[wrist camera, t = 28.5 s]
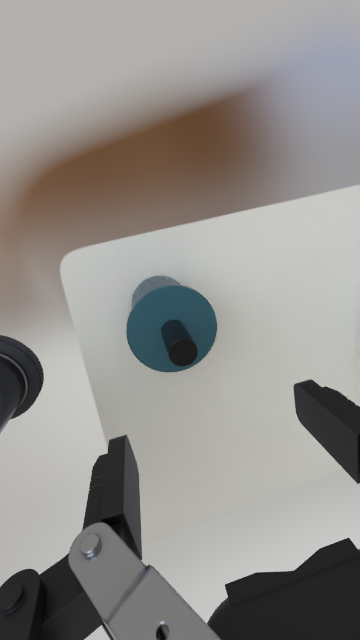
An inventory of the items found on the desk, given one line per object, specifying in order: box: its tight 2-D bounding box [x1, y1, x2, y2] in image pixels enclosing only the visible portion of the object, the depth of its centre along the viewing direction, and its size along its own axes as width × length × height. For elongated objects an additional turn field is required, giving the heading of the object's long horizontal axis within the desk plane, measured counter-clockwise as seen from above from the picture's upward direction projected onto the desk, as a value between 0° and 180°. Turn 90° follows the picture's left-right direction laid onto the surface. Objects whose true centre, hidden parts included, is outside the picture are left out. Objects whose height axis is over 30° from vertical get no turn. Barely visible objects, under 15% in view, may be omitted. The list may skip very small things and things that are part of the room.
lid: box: [127, 285, 217, 372], centre depth 22 cm, size 8×8×6 cm
